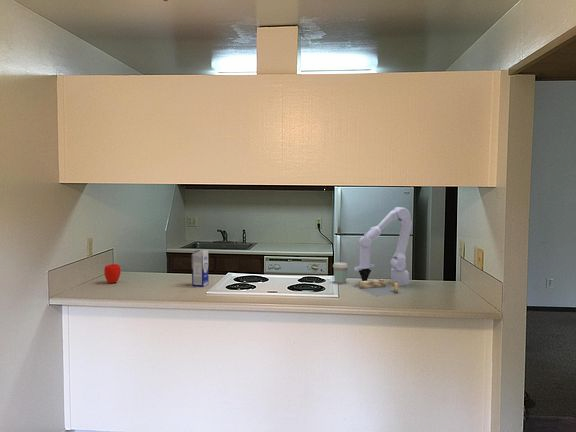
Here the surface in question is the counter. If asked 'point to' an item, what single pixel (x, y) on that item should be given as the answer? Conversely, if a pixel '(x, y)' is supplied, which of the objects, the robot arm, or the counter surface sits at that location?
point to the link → (372, 283)
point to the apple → (112, 273)
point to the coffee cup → (340, 272)
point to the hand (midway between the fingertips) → (364, 282)
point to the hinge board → (380, 291)
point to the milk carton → (200, 268)
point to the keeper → (394, 286)
